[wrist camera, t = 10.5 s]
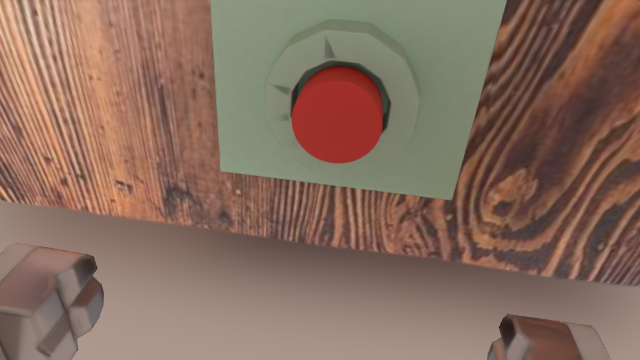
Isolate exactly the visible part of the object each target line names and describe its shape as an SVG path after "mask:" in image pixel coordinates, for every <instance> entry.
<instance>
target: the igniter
mask: <svg viewBox="0 0 640 360" xmlns="http://www.w3.org/2000/svg"><path fill="white" fill-rule="evenodd" d="M506 2H507V0H210V7H211V24H212V40H213V57H214V73H215V90H216V107H217V123H218V140H219V156H220V170H221V171H223V172H231V173H239V174H247V175H255V176H263V177H271V178H279V179H287V180H294V181H302V182H310V183H318V184H326V185H334V186H342V187H350V188H358V189H366V190H374V191H382V192H389V193H397V194H405V195H413V196H421V197H429V198H437V199H445V200H452V198H453V194H454V191H455V187H456V183H457V180H458V176H459V172H460V169H461V165H462V162H463V158H464V154H465V151H466V147H467V143H468V140H469V136H470V133H471V129H472V125H473V122H474V118H475V114H476V111H477V107H478V104H479V100H480V96H481V93H482V89H483V85H484V82H485V78H486V75H487V71H488V67H489V64H490V60H491V56H492V53H493V49H494V46H495V42H496V38H497V35H498V31H499V27H500V24H501V20H502V17H503V13H504V9H505V6H506ZM333 66H346V67H351V68H354V69H357V70H359V71H361V72H363V73H364V74H366V75H367V76H368V77H370V78H371V79H372V81H373V82H374V83H375V84H376V86H377V87H378V89H379V91H380V94H381V96H382V101H383V125H382V132H381V136H380V138H379V140H378V142H377V144H376V145H375V147H374V148H373V149H372V150H371V151H370V152H369V153H368V154H366V155H365V156H364V157H362V158H360V159H358V160H356V161H353V162H349V163H340V164H337V163H329V162H325V161H322V160H319V159H317V158H315V157H313V156H312V155H310V154H309V153H308V152H306V151H305V150H304V149H303V148H302V146H301V145H300V144H299V142H298V141H297V139H296V137H295V135H294V132H293V128H292V112H293V108H294V106H295V103H296V101H297V99H298V97H299V94H300V92H301V90H302V88H303V86H304V84H305V83H306V82H307V80H308V79H309V78H310V77H311V76H312V75H314V74H315V73H316V72H318V71H320V70H322V69H325V68H328V67H333Z"/></svg>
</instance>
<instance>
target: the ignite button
mask: <svg viewBox="0 0 640 360" xmlns="http://www.w3.org/2000/svg"><path fill="white" fill-rule="evenodd" d="M382 125H383V101H382V96H381V94H380V91H379V89H378V87H377V86H376V84H375V83H374V82H373V81H372V79H371V78H370V77H368V76H367V75H366V74H364V73H363V72H361V71H359V70H357V69H354V68H351V67H346V66H333V67H328V68H325V69H322V70H320V71H318V72H316V73H315V74H314V75H312V76H311V77H310V78H309V79H308V80H307V82H306V83H305V84H304V86H303V88H302V90H301V92H300V94H299V97H298V99H297V101H296V103H295V106H294V108H293V112H292V128H293V132H294V135H295V137H296V139H297V141H298V142H299V144H300V145H301V146H302V148H303V149H304V150H305V151H306V152H308V153H309V154H310V155H312V156H313V157H315V158H317V159H319V160H322V161H325V162H329V163H337V164H340V163H349V162H353V161H356V160H358V159H360V158H362V157H364V156H365V155H366V154H368V153H369V152H370V151H371V150H372V149H373V148H374V147H375V145H376V144H377V142H378V140H379V138H380V136H381V132H382Z"/></svg>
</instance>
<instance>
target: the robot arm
mask: <svg viewBox="0 0 640 360" xmlns="http://www.w3.org/2000/svg"><path fill="white" fill-rule="evenodd" d="M96 270H97V265H96V262H95V259H94V257H93V256H90V255H88V254H83V253H77V252H71V251H65V250H59V249H53V248H47V247H39V246H33V245H27V244H21V243H16V244H13V245H10V246H8V247H7V248H6V249H5V250H4V251H3V252H2V253H1V254H0V360H71V359H72V358H73V356H74V355H75V353H76V352H77V351H78V344H77V339H78V338H79V337H81V336H83V335H84V334H86V333H88V332H89V331H91V329H92V328H93V327H94V325H95V323H96V322H97V320H98V319H99V316H100V313H101V310H102V307H103V302H104V301H103V300H104V292H103V288H102V285H101V284H100V283H99V282H98V281H97V280H96V279H95V278H94V277H93V276H92V275H93V274H94V273H95V271H96ZM499 329H500V333H501V338H499V339H498V340H496V341H494V342H492V345H491V347H490V350H489V352H488V357H487V360H611V359H610V356H609V354H608V352H607V350H606V348H605V346H604V344H603V342H602V340H601V338H600V336H599V334H598V332H597V331H596V330H595V329H594V328H593V327H592V326H591V325H583V324H576V323H568V322H560V321H555V320H547V319H540V318H532V317H525V316H517V315H510V314H508V315H506V316H505V317H504V318H503V320H502V322H501V324H500V326H499Z"/></svg>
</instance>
